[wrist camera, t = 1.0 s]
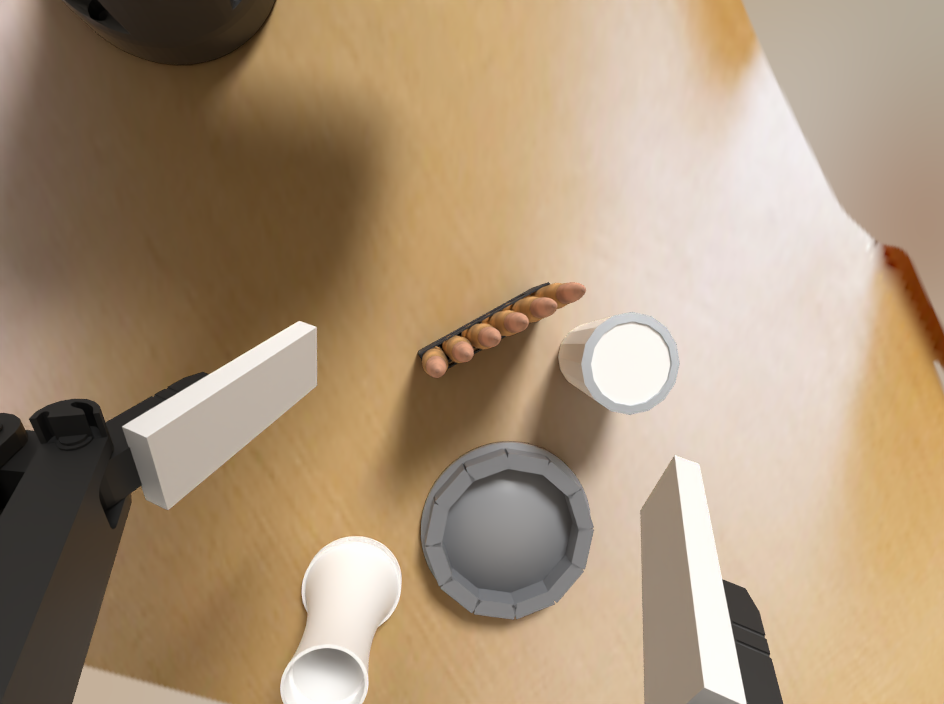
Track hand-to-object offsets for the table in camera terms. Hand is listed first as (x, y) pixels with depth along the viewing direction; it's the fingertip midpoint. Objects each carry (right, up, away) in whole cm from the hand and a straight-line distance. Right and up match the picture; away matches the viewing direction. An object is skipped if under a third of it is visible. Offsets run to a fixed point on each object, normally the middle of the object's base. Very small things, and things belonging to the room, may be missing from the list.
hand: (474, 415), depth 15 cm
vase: (-10, -16, +19) cm, 27 cm away
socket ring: (+3, -12, +20) cm, 23 cm away
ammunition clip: (+1, +4, +19) cm, 20 cm away
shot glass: (+10, +2, +20) cm, 23 cm away
